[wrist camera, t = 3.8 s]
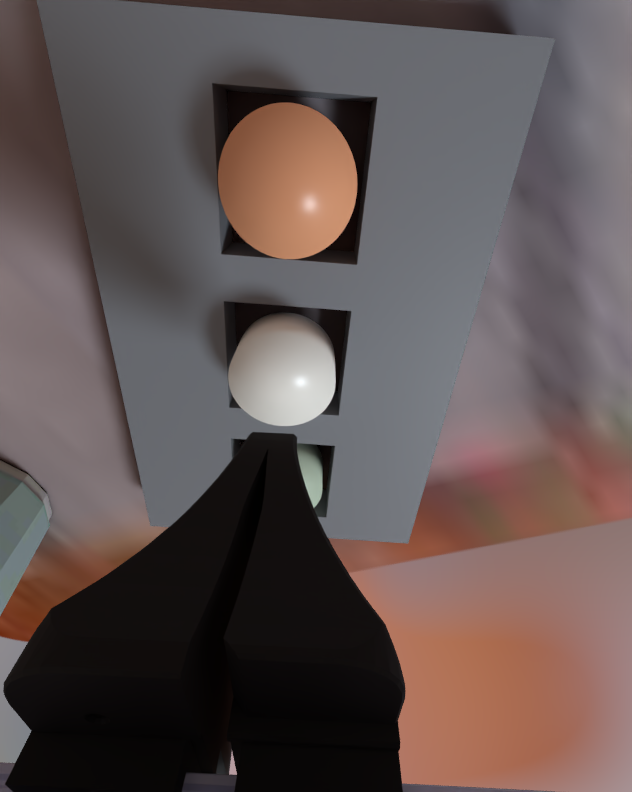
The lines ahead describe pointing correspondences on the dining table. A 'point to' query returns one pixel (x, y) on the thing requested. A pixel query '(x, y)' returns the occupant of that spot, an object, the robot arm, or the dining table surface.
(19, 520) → the disposable coffee cup
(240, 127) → the terracotta button
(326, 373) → the ivory button
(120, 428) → the dining table surface
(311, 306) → the button panel
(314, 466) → the green button
